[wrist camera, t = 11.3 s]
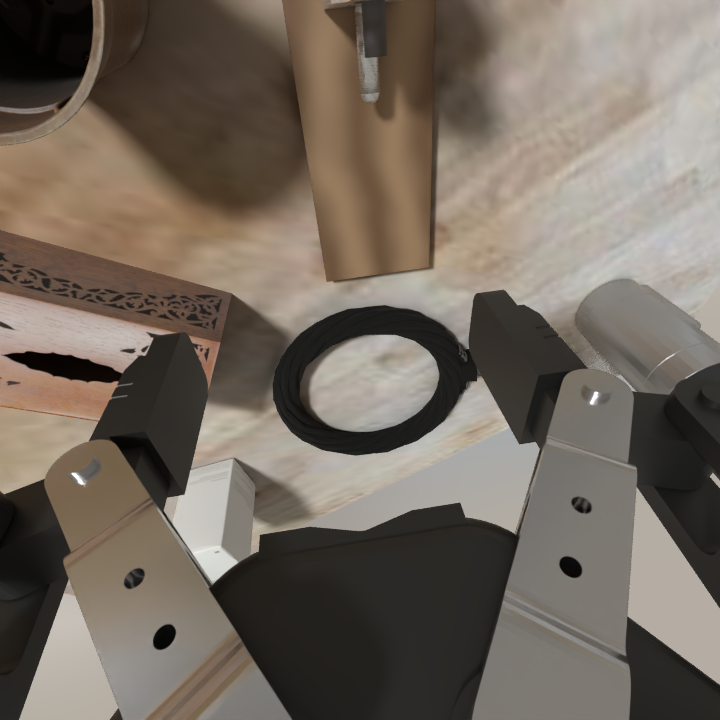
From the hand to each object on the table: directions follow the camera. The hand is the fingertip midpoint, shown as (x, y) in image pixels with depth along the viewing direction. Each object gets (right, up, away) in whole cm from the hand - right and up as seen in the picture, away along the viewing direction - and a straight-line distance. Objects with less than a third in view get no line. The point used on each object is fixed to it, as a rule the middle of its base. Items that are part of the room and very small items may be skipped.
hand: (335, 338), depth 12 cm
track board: (+1, +23, +25) cm, 34 cm away
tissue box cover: (-29, +5, +36) cm, 46 cm away
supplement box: (-23, -21, +58) cm, 65 cm away
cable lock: (+3, -3, +48) cm, 48 cm away
